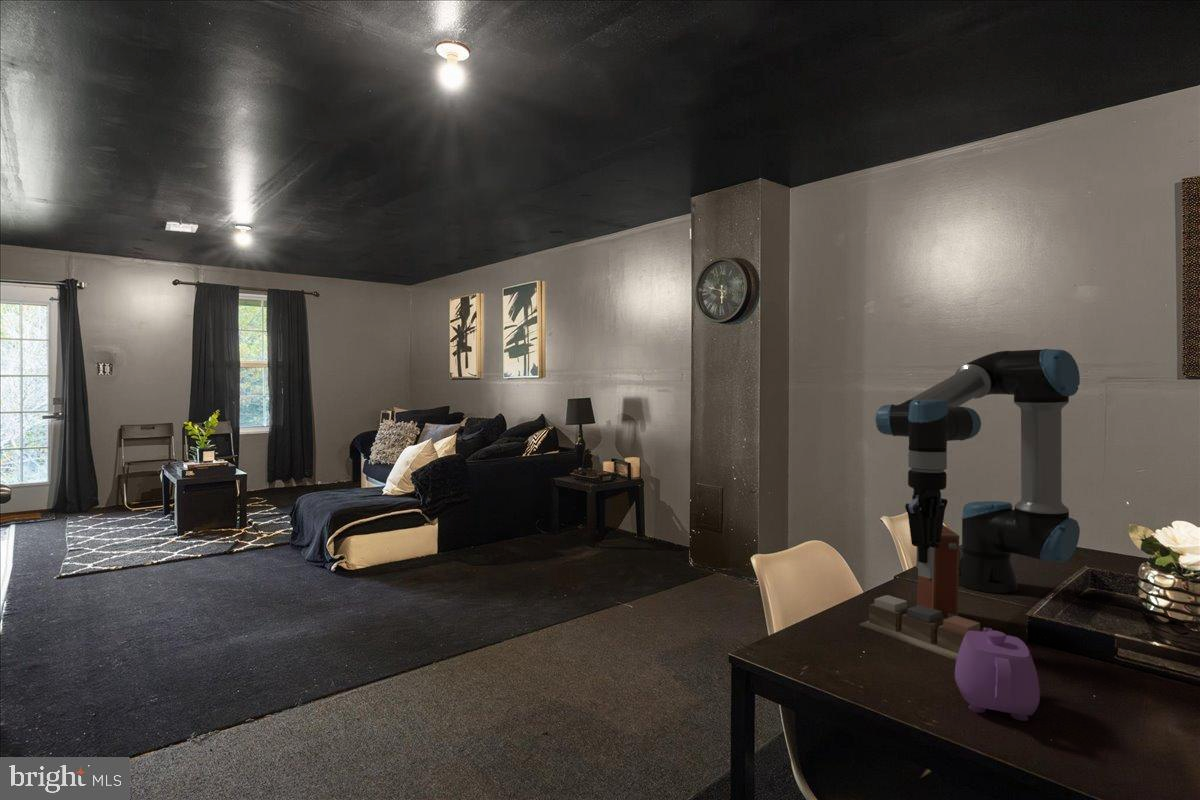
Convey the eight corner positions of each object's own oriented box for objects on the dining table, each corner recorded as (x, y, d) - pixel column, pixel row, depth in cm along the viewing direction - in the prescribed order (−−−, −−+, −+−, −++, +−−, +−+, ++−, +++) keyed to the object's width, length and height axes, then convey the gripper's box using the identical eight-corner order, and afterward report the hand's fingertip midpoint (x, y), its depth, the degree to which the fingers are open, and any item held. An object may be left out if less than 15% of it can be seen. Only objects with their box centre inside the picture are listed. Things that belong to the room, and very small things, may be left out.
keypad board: (889, 615, 155) (889, 596, 155) (995, 650, 135) (995, 628, 135) (859, 625, 148) (859, 606, 148) (965, 663, 128) (966, 641, 128)
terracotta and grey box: (941, 607, 160) (963, 630, 145) (911, 605, 161) (929, 628, 147) (943, 522, 159) (965, 536, 145) (913, 521, 161) (931, 535, 146)
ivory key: (886, 611, 152) (887, 594, 151) (907, 618, 147) (907, 600, 147) (874, 615, 149) (874, 598, 149) (894, 622, 145) (894, 605, 145)
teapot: (1050, 741, 101) (1052, 661, 100) (960, 723, 106) (961, 647, 105) (1025, 686, 119) (1027, 618, 119) (949, 673, 124) (951, 608, 124)
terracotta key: (955, 633, 138) (955, 615, 138) (979, 641, 134) (980, 622, 134) (943, 638, 135) (943, 620, 135) (967, 647, 131) (967, 627, 131)
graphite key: (919, 622, 145) (919, 604, 145) (941, 629, 141) (941, 611, 141) (907, 626, 142) (907, 608, 142) (929, 634, 138) (929, 615, 138)
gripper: (926, 465, 147) (925, 567, 148) (893, 470, 140) (892, 577, 141) (960, 469, 141) (958, 575, 142) (927, 474, 134) (926, 586, 134)
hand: (925, 576), depth 141 cm, fingers closed
